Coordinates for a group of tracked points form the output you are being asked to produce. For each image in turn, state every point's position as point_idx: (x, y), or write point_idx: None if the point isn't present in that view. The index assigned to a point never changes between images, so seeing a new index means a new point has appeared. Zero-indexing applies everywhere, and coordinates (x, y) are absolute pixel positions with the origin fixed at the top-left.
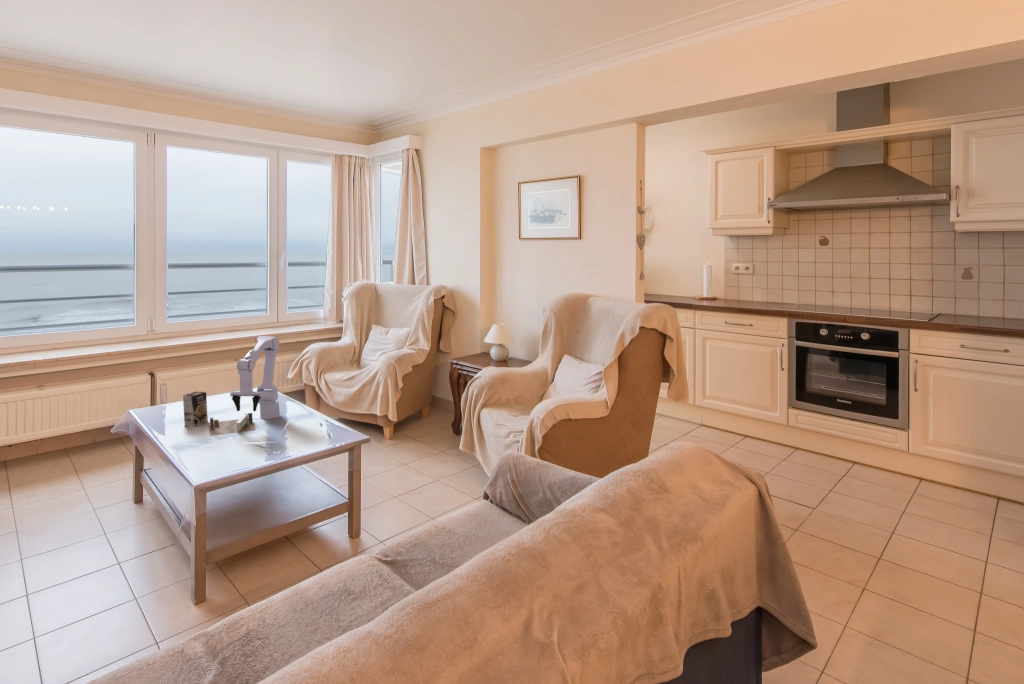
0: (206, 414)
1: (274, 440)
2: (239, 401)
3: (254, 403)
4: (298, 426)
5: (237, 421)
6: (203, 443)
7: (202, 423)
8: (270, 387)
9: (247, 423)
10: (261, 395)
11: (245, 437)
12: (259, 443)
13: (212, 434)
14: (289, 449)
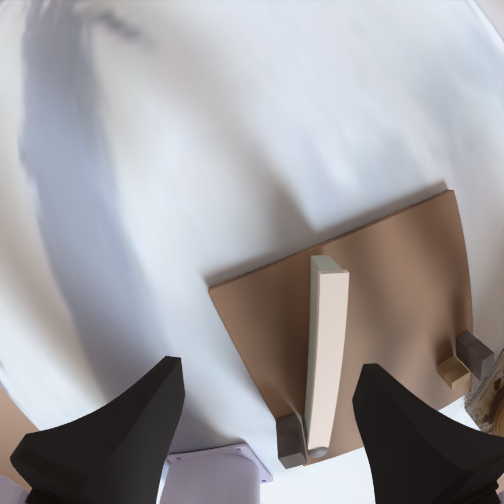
0: (484, 425)
1: (63, 116)
2: (381, 480)
3: (116, 415)
4: (39, 343)
5: (346, 313)
6: (442, 89)
7: (483, 386)
8: None
9: (301, 406)
10: (2, 493)
11: (241, 162)
12: (126, 59)
13: (450, 212)
14: (16, 31)
